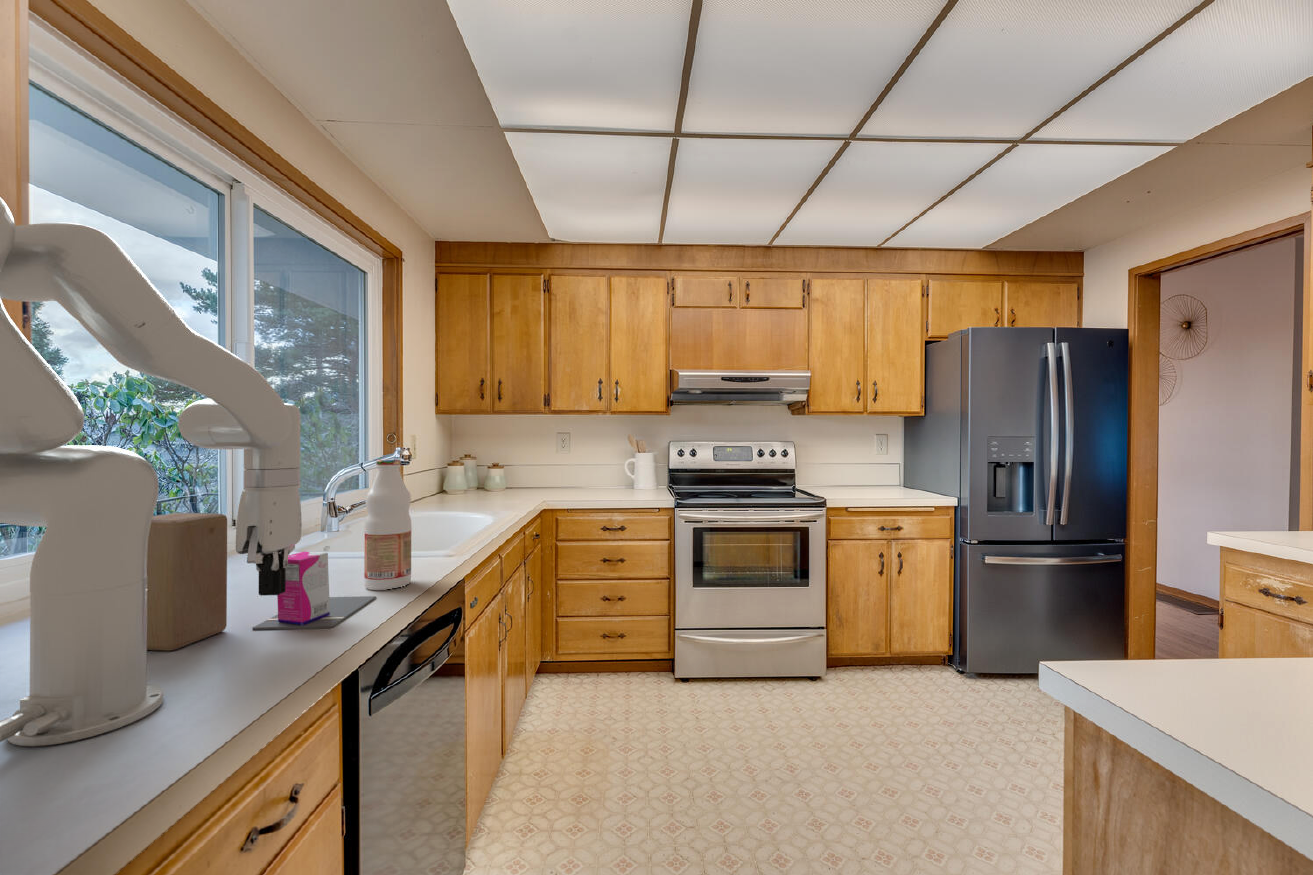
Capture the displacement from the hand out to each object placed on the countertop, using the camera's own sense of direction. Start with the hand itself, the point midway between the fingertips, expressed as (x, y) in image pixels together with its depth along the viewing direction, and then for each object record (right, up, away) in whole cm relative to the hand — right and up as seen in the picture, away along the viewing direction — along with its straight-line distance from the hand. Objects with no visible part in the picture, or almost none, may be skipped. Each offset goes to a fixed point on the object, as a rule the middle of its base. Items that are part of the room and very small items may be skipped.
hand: (272, 593), depth 89 cm
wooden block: (-16, -8, 0) cm, 18 cm away
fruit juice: (+2, -8, +34) cm, 35 cm away
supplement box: (-1, -7, +10) cm, 12 cm away
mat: (-1, -8, +15) cm, 17 cm away
